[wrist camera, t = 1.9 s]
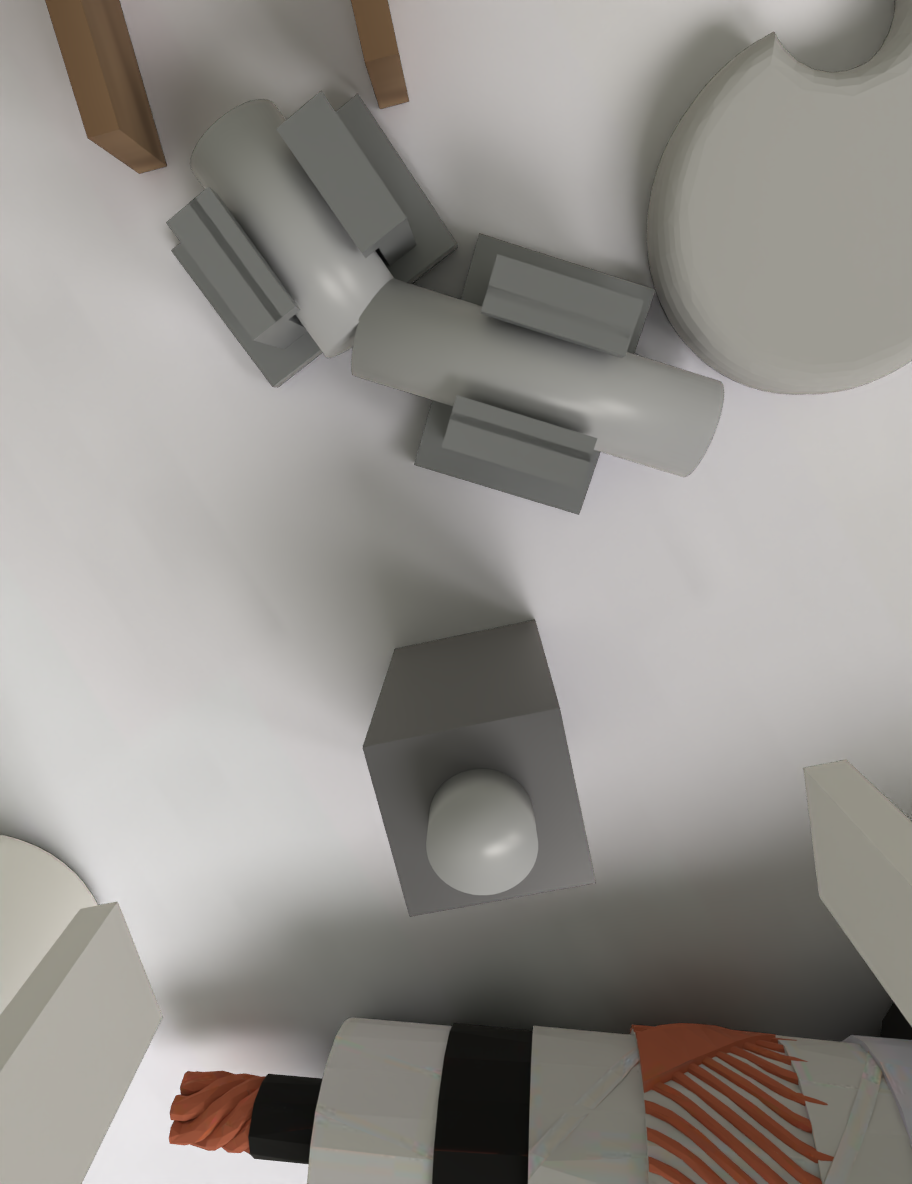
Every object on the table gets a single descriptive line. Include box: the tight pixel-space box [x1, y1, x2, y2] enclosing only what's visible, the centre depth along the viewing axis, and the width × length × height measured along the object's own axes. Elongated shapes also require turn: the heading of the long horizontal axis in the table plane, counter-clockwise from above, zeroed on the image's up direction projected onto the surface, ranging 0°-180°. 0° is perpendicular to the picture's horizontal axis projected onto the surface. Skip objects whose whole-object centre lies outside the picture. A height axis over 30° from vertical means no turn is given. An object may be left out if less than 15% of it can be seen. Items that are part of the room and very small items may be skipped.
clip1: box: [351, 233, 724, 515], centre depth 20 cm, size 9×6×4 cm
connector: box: [363, 620, 596, 917], centre depth 20 cm, size 4×4×8 cm
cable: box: [169, 1002, 912, 1184], centre depth 23 cm, size 10×34×10 cm, turn 91°
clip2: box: [166, 91, 457, 387], centre depth 19 cm, size 5×6×4 cm
